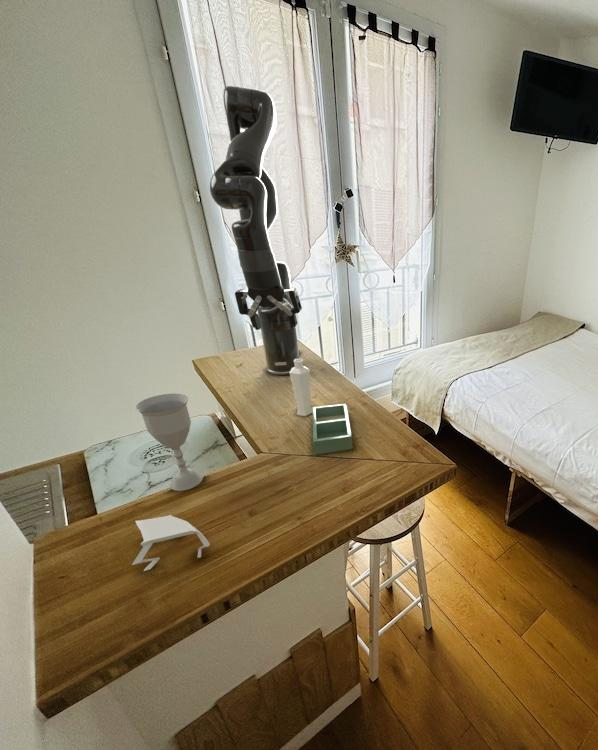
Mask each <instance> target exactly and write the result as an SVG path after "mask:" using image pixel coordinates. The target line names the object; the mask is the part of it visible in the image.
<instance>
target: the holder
mask: <svg viewBox="0 0 598 750" xmlns="http://www.w3.org/2000/svg"><path fill="white" fill-rule="evenodd" d="M311 408H312V413H311V415H312V445H313V452H314V455H315V456H317V455H323V454H330V453H335V452H336V453H337V452H342V451H348V450H354V447H353V434H352V429H351V423H350V422H351V421H350V417H349V410H348V405H347V403H339V404H338V403H337V404H330V405H323V406H322V405H321V406H313V407H312V406H311Z"/></svg>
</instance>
